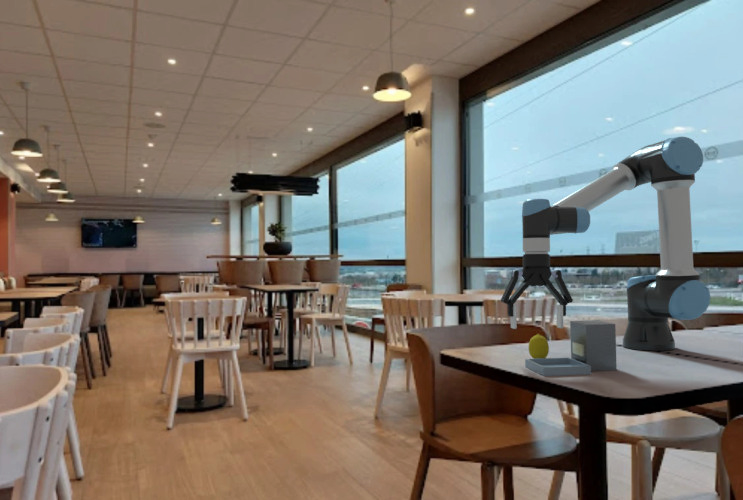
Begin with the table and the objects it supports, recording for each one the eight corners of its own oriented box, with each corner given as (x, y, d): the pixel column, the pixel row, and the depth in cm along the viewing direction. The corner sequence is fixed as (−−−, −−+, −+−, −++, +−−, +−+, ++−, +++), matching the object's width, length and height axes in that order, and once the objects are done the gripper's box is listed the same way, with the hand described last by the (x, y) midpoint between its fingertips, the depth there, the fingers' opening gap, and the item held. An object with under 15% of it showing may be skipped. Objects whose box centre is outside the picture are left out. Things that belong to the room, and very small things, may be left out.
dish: (569, 365, 151) (568, 357, 151) (591, 374, 139) (590, 365, 139) (525, 366, 150) (525, 358, 150) (543, 375, 137) (543, 367, 138)
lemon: (546, 360, 159) (546, 332, 159) (551, 363, 153) (550, 335, 153) (527, 360, 159) (526, 332, 159) (530, 363, 154) (530, 335, 154)
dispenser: (600, 363, 152) (599, 320, 152) (618, 370, 143) (616, 323, 143) (570, 364, 151) (569, 321, 152) (586, 371, 142) (584, 324, 143)
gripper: (572, 253, 162) (573, 325, 161) (489, 253, 159) (490, 326, 159) (584, 253, 154) (585, 328, 154) (497, 253, 152) (498, 330, 151)
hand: (536, 328), depth 156 cm, fingers open, 13 cm apart
